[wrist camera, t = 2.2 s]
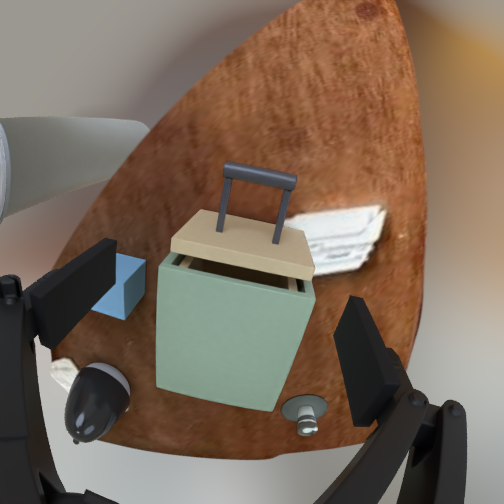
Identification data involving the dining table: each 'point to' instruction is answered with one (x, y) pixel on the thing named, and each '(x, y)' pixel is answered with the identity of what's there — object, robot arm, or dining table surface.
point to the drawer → (247, 237)
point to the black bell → (95, 402)
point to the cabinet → (226, 335)
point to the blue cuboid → (124, 288)
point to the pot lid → (305, 412)
